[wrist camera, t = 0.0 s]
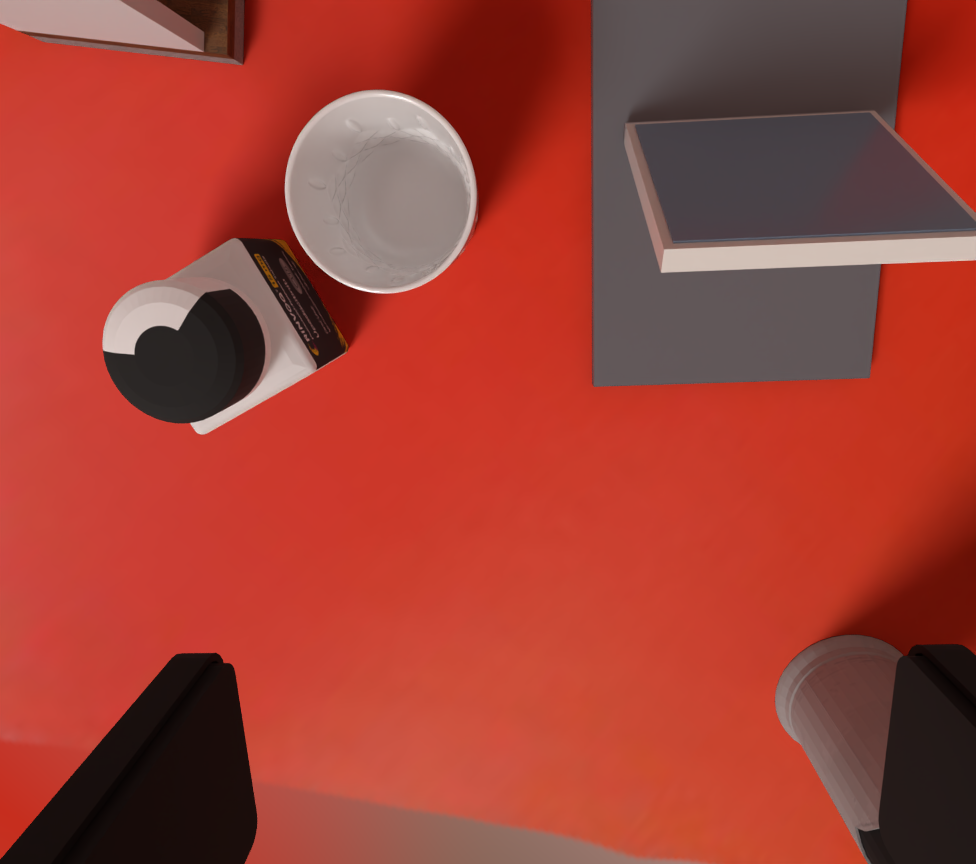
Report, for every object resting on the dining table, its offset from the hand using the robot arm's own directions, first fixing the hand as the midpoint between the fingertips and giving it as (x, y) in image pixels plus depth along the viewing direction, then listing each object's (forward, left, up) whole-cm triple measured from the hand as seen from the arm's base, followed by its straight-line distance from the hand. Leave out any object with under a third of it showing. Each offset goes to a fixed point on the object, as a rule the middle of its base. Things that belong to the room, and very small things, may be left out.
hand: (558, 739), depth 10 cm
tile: (-9, +11, -25) cm, 28 cm away
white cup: (-9, -6, -31) cm, 33 cm away
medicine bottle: (-3, -15, -31) cm, 35 cm away
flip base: (-12, +11, -31) cm, 35 cm away
